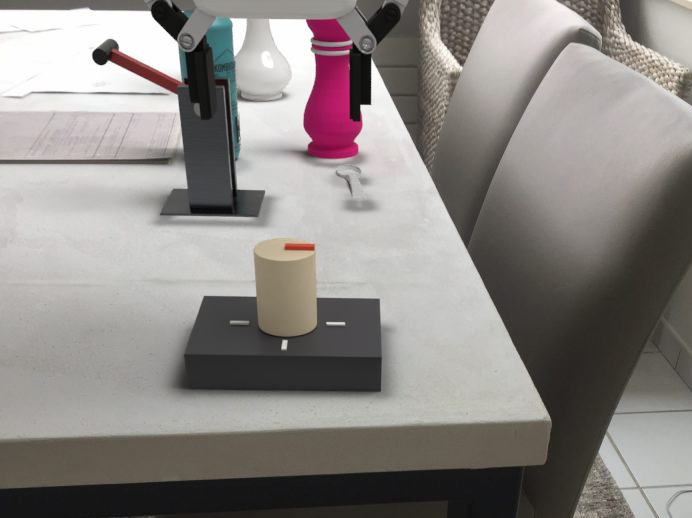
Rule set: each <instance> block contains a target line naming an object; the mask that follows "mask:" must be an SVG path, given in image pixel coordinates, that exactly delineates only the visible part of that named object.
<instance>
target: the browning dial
mask: <svg viewBox="0 0 692 518" xmlns="http://www.w3.org/2000/svg"><path fill="white" fill-rule="evenodd" d="M316 251H317V250H316V244H315V243H312V242H310V241H309V240H308V241H307V240H305V239H302V238H301V239H300V238H295V237H276V238H270V239H265V240H262V241H260V242H258V243H257V244H255V245H254V247H253V263H254V264H253V265H254V266H253V267H254V280H255V294H256V296H255V297H257V312H258V325H259V327H260V329H261V330H262V331H264V332H265V333H268V334H271V335H275V336H282V337H291V336H299V335H303V334H306V333H309V332H311V331H312V330H313V329H315V327H316V326H317V298H318V297H317V260H316V259H317V257H316V254H317V253H316Z"/></svg>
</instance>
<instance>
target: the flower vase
mask: <svg viewBox="0 0 692 518" xmlns="http://www.w3.org/2000/svg"><path fill="white" fill-rule="evenodd" d="M270 25H271V23H270V19H246V29H245V35H244V39H243V42H242V45H241V47H240V49H239V50H238V51H237V53H236V54H235V55H234V56H235V57H234V60H235V62H236V63H235V65H236V68H235V69H236V71H235V76H236V82H237V84H236V89H238V90H240V91H241V93H240V96H241V98H243V99H245V100H248V101H255V102H269V101H270V102H271V101H276V100H279V99H281V98H282V97H283V92H282V91H283V90H284V89H286V88H287V87H288V86H289V85H290V83H291V81H292V78H293V73H292V67H291V65H290V62H289V61H288V59H287V58H286V57H285V55H284V54H283V53H282V52H281V51H280V50H279V48H278V46H277V44H276V42H275V39H274V37H273V34H272V30H271V26H270ZM235 58H236V59H235Z"/></svg>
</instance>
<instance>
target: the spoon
mask: <svg viewBox="0 0 692 518" xmlns="http://www.w3.org/2000/svg"><path fill="white" fill-rule="evenodd" d="M343 171H354V172H357V174H355V173H349V174H341V172H343ZM335 174H336V176H337V177H339V178H342V179H345V180H347V181H348V183H349V186H350V190H351V191H350V192H351V198H353V199H366V198H367V195H366V193H365V191H364V189H363V186H362V184H361V182H360V180H359V178H360V177H362V175H363V172H362V169H361V168H360V167H359V166H357V165H355V164H351V163H345V164H341V165H339V166H338V167H336V171H335Z"/></svg>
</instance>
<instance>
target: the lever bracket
mask: <svg viewBox="0 0 692 518" xmlns="http://www.w3.org/2000/svg"><path fill="white" fill-rule="evenodd" d="M184 84H186V85H178V86H177V94H178V95H177V94H176V95H177V100H178V113H179V121H180V131H181V139H182V149H183V157H184V167H185V176H186V187H187V188H175V187H174V188H172V190H171V192H170V194H169V196H168V198H167V199H166V201H165V203H164V205H163V207H162V209H161V210H160V212H159V216H165V217H166V216H171V217H172V216H175V217H181V216H182V217H222V218H223V217H225V218H226V217H229V218H259V217H260V214H261V209H262V206H263V202H264V199H265V195H266V190H265V189H239V188H238V177H237V164H236V163H237V162H236V158H235V149H234V135H233V121H232V108H231V94H230V80H229V77H219V76H215V85H216V96H217V110H216V112H215V114H214V116H213V118H211V119H210V120H201V116H200V107H199V103H191V101H190V96H189V87H188V77H187V76H185V77H184Z"/></svg>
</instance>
